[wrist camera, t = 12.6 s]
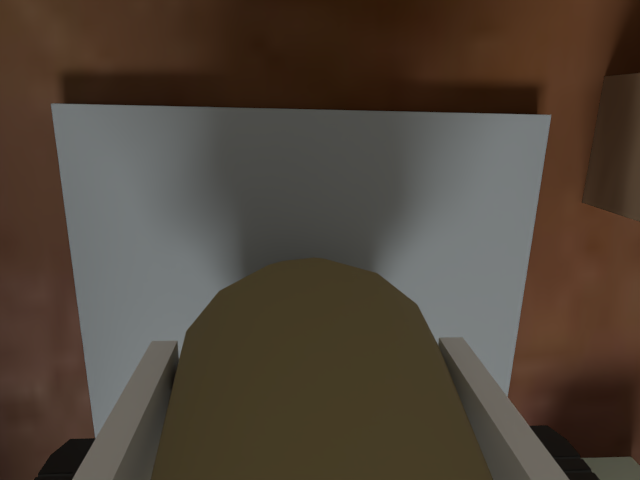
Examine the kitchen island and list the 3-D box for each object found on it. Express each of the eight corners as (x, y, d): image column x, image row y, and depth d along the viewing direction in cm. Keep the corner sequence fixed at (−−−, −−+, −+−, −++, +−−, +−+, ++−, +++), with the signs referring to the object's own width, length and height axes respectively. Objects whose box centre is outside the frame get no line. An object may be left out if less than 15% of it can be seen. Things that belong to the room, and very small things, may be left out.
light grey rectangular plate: (109, 463, 22) (100, 480, 21) (64, 103, 17) (50, 103, 16) (487, 453, 23) (496, 468, 22) (537, 114, 18) (551, 115, 17)
